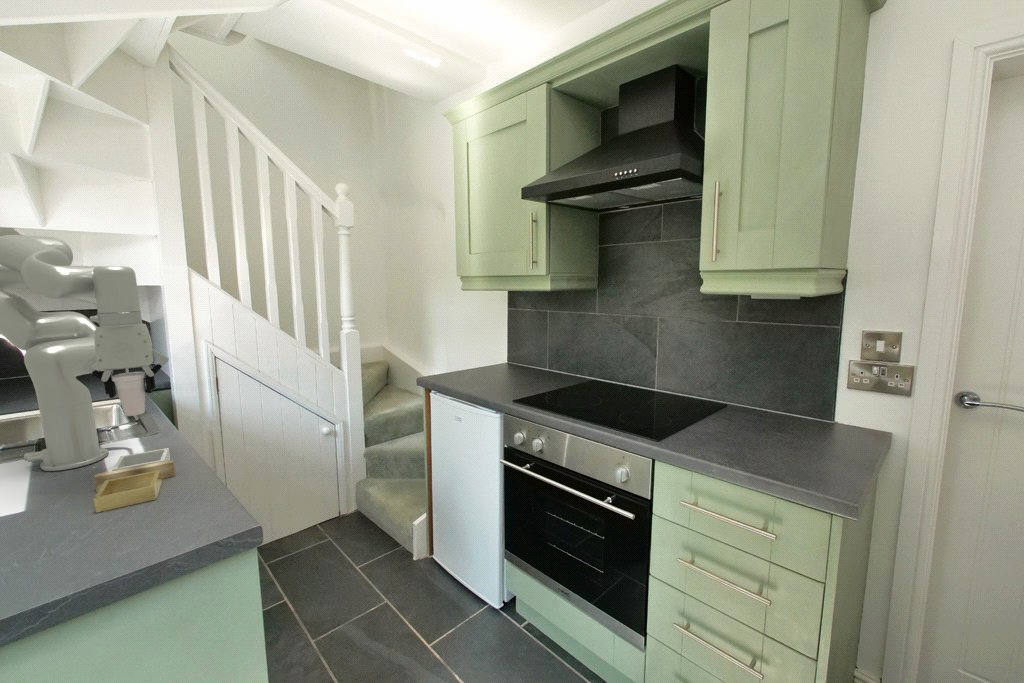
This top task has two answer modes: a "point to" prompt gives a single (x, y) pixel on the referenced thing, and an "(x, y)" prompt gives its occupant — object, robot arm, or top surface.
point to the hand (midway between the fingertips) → (131, 393)
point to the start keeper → (142, 459)
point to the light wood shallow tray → (128, 491)
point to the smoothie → (131, 391)
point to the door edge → (137, 472)
